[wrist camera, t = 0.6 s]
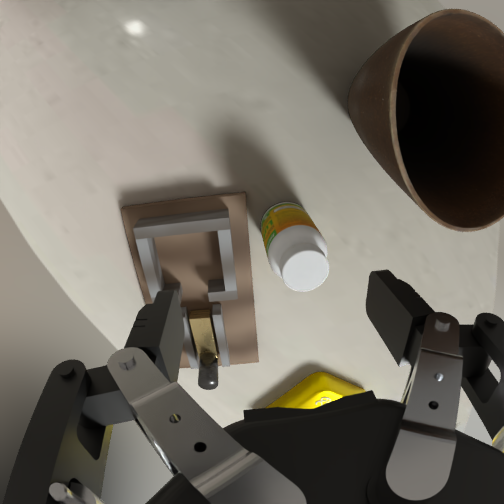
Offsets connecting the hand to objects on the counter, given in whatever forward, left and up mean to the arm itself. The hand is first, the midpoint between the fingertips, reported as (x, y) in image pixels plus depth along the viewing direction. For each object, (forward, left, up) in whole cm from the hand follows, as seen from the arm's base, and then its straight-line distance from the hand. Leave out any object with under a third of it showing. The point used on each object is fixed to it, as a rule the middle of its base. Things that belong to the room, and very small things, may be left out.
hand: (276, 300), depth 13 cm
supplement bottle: (+6, +4, -21) cm, 22 cm away
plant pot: (-7, +14, -21) cm, 26 cm away
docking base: (+14, -7, -21) cm, 26 cm away
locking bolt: (+19, -7, -20) cm, 28 cm away
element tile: (+41, +9, -21) cm, 47 cm away
